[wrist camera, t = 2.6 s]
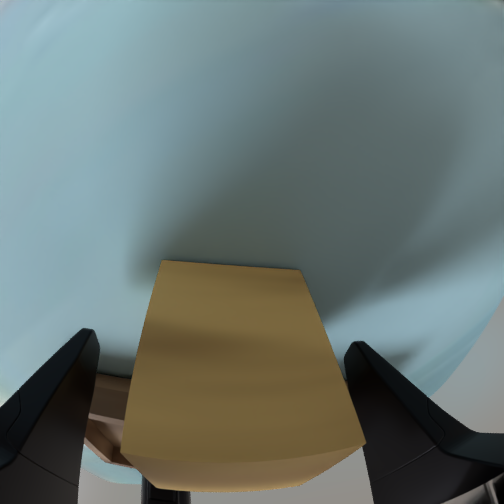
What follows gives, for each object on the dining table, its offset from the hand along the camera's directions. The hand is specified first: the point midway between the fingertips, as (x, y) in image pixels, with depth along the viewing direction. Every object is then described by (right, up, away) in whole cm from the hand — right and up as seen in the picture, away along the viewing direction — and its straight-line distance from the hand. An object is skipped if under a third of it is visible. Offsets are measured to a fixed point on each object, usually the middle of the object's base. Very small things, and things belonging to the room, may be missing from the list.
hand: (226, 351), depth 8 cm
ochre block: (0, +1, +1) cm, 2 cm away
